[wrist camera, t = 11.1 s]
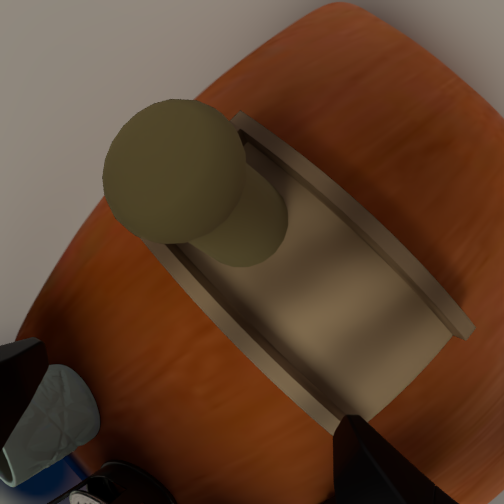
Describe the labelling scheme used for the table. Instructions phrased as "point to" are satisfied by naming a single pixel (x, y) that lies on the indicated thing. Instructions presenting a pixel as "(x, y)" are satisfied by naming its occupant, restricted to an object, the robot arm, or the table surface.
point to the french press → (126, 475)
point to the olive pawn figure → (192, 184)
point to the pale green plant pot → (50, 425)
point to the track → (322, 294)
